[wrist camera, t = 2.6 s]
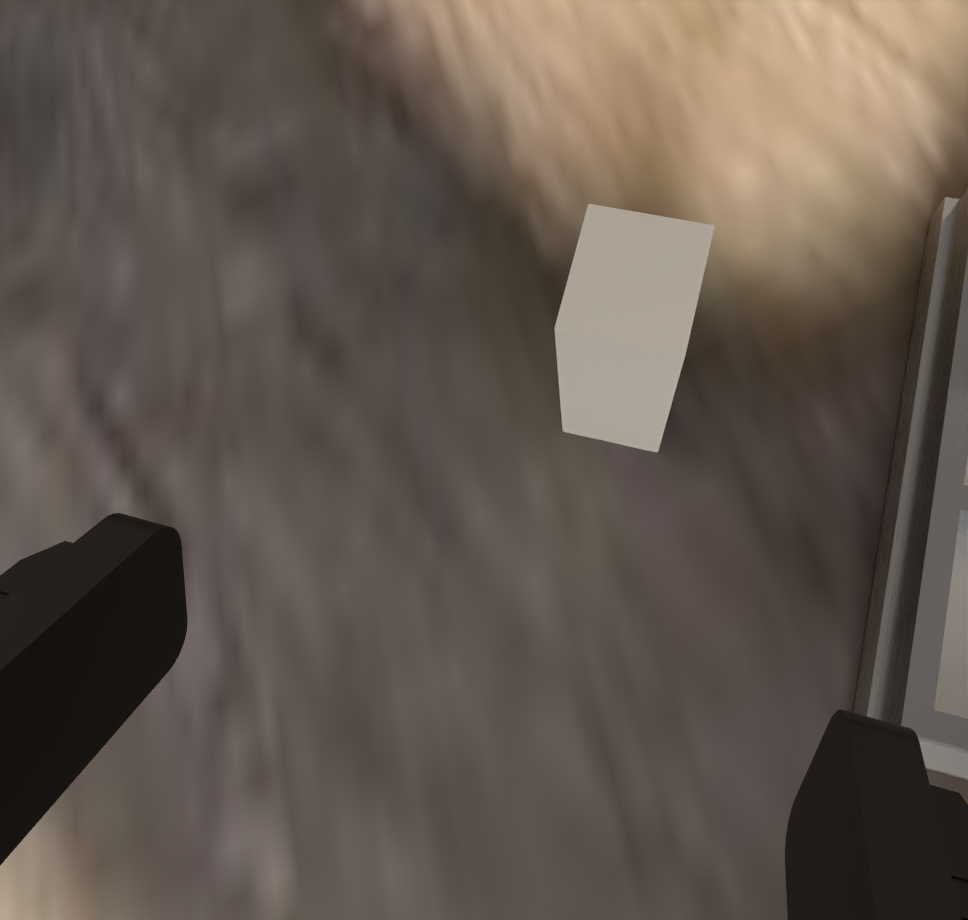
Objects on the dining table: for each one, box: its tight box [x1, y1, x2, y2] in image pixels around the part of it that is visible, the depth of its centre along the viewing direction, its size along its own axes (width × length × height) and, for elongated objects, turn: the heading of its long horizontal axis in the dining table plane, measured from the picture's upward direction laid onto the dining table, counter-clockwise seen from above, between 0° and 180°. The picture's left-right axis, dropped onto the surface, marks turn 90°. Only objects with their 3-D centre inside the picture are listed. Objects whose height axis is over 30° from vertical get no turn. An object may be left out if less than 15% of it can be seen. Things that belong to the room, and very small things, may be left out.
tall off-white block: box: [555, 204, 715, 453], centre depth 28 cm, size 4×4×9 cm
